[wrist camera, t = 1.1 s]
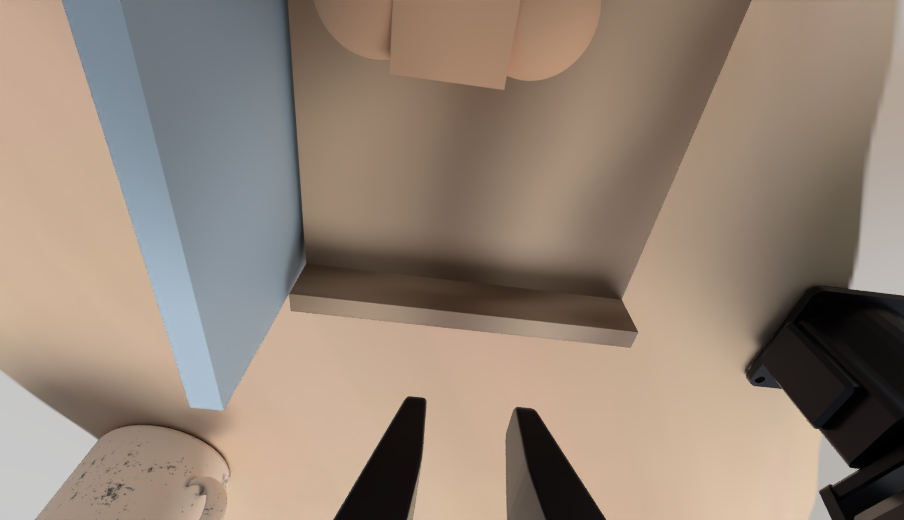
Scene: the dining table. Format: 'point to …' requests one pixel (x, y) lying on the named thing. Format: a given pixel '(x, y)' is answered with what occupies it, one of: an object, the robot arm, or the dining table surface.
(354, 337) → the dining table surface
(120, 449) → the teacup with lid
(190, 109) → the tailgate
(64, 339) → the dining table surface
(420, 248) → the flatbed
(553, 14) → the cube with rounded ends
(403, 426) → the robot arm
